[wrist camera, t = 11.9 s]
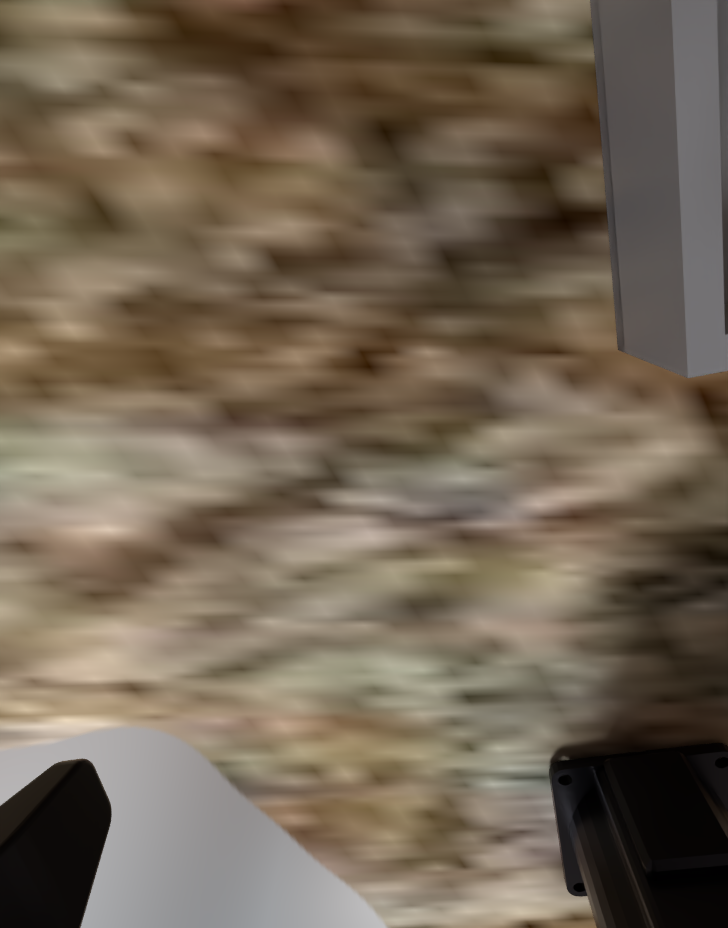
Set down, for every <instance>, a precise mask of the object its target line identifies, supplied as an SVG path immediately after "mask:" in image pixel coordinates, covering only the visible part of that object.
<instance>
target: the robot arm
mask: <svg viewBox="0 0 728 928" xmlns="http://www.w3.org/2000/svg"><path fill="white" fill-rule="evenodd" d="M720 757H722V758H720ZM718 758H720V759H718ZM562 775H567V776H564V777H560V776H562ZM549 777H550V784H551V790H552V797H553V804H554V811H555V818H556V825H557V831H558V838H559V845H560V852H561V859H562V865H563V872H564V879H565V883H566V886H567V890H568V892H569V893H570V894H572V895H574V896H588V899H589V903H590V906H591V909H592V913H593V916H594V920H595V923H596V926H597V928H728V746H727V745H725V744H723V743H712V744H704V745H695V746H686V747H678V748H669V749H660V750H652V751H643V752H634V753H626V754H617V755H609V756H600V757H591V758H583V759H574V760H565V761H559V762H556V763H554V764H553V765H552V766H551V767H550V769H549ZM110 823H111V804H110V801H109V799H108V796H107V794H106V792H105V790H104V787H103V785H102V783H101V781H100V778H99V776H98V774H97V772H96V769H95V767H94V766H93V764H92V763H91V762H90V761H89V760H87V759H76V760H68V761H62V762H58V763H56V764H54V765H53V766H51V767H50V768H49V769H47V770H46V771H45V772H44V773H42V774H41V775H40V776H38V777H37V778H36V779H34V780H33V781H32V782H30V783H29V784H28V785H27V786H25V787H24V788H23V789H21V790H20V791H19V792H18V793H16V794H15V795H14V796H12V797H11V798H10V799H9V800H8V801H6V802H5V803H3V804H2V805H1V806H0V928H80V927H81V923H82V920H83V917H84V913H85V910H86V906H87V902H88V899H89V896H90V893H91V889H92V885H93V882H94V879H95V875H96V872H97V868H98V865H99V862H100V858H101V854H102V851H103V848H104V844H105V841H106V837H107V834H108V830H109V827H110Z"/></svg>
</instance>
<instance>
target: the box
mask: <svg viewBox="0 0 728 928" xmlns="http://www.w3.org/2000/svg"><path fill="white" fill-rule="evenodd" d="M590 3H591V15H592V28H593V41H594V53H595V66H596V78H597V91H598V104H599V116H600V129H601V141H602V154H603V167H604V179H605V192H606V204H607V217H608V229H609V242H610V255H611V267H612V280H613V292H614V305H615V318H616V330H617V343H618V350H620V351H622V352H625V353H627V354H630V355H632V356H635V357H637V358H639V359H642V360H644V361H647V362H649V363H652V364H654V365H657V366H659V367H662V368H664V369H667V370H669V371H672V372H674V373H677V374H679V375H682V376H684V377H686V378H691V377H696V376H702V375H707V374H712V373H718V372H723V371H728V0H590Z"/></svg>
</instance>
